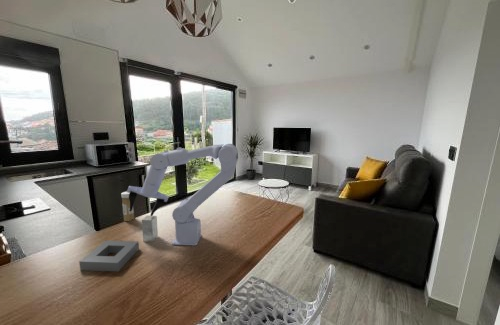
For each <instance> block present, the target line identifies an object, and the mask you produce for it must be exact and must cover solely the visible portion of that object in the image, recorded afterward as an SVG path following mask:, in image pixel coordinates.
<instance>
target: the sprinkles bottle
mask: <svg viewBox="0 0 500 325" xmlns="http://www.w3.org/2000/svg"><path fill="white" fill-rule="evenodd" d="M129 194H130V193H128V192H127V191H123V192H121V193H120V195H121V200H122V205H121V206H122V214H123V221H124V222H131V221H133V220H134V219H135V211H134V207H133V208H132V211H129V210H130V200H129ZM132 219H133V220H132Z"/></svg>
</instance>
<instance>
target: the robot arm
mask: <svg viewBox="0 0 500 325" xmlns="http://www.w3.org/2000/svg"><path fill="white" fill-rule="evenodd" d="M206 157H211V158H213V159H215V160H217V159H218V160H219V162H220V163H219V164H220V171H219V172H218V173H217V174H216V175H214V176H213V177H212V178H211V179H210V180H208V181H207V182H206V183H205V184H204V185H203V186H201V187H200V188H199V189H198V190H197V191H196V192H195V193H194V194H193V195H191V196H190V197H188V198H185V199H183V200H181V201H180V203H179V205H177V207H176V208H174V209H173V211H172V213H171V214H172V215H171V216H172V218H173V220H174V222H175V225H174V226H175V239H173V241H172V243H171V244H172V245H173V246H174V245H175V246H197V245H198V243H199V241H200V240H201V237H202V226H201V225H202V222H201V219H200V218H196V217H195V215H194V212H195V211H197V209H198V207H199V206H201V205H202V204H204V202H205V201H207V200H208V199H209V198H210V197H211V196H213V194H215V193H216V192H217V191H218V190H220V188H222V187H223V186H224V185H226V183H227V182H228V181H229V182H230V180H231V179H232V178H233V177H234V175H235V172H236V168H237V162H238V160H239V152H238V148H237V147H236V145H234V144H232V143H227V144H212V145H209V146H204V147H199V148H195V149H191V150H188V149H186V148H184V147H183V148H182V147H181V146H180V147H176V149H173V150H167V149H166V150H164V151H161V152H158V153H155V154H154V155H152V156H151V158H150V161H149V163H150V166H149V169H148V172H147V174H146V177H145V180H144V182H143V184H142V187H141V186H140V187H139V186H133V185H129V186H128V188H127V190H126V192H128V193H130V194H129V200H130V210H129V211H132V208H133V209H134V205H135V201H136V198H137V195H139V196H143V197H145V198H150V199H156V201H155V203H154V206H153V208H152V210H151V212H150V215H149V216H154V214H155V213H156V211H157V210H158V209H159V208H160V207H162V206H163V205H164V202H165V203H167V202H168V199H169V195H167V194H164V193H162V192H160V191H159V190H160V188H161V185H162V183H163V180H164V178H165V175H166V172H167V170H168V167H175V166H180V165H186V164H188V163H189V161H190V160H194V159H199V158H200V159H201V158H206Z"/></svg>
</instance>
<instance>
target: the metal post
mask: <svg viewBox="0 0 500 325" xmlns="http://www.w3.org/2000/svg"><path fill="white" fill-rule="evenodd" d="M141 227H142V228H141V229H142V232H141V233H142V242H144V243H145V242H150V243H153V242H155V240H157V238H158V237H159V233H158V231H159V230H158V216H157V215H153V216H150V215H145V217H143V218H142V219H141Z"/></svg>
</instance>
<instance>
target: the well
mask: <svg viewBox="0 0 500 325" xmlns="http://www.w3.org/2000/svg"><path fill="white" fill-rule="evenodd" d="M139 243H140V242H139V241H135V240H133V241H132V240H131V241H130V240H129V241H128V240H107V239H106V240H104V241H103V242H102V243H100V244H99V245H98V246H97V247H95V249H93V250H92V251H90V252H89V253H88V254H86V255H85V256H84V257H83V258H82V259H80V260H79V262H78V263H79V269H80V270H79V271H95V272H96V271H97V272H98V271H99V272H120V271H121V269H122V268H123V267H124V266H125V265H126V264H127V263H128V262H129V261H130V260H131V258H132V257H133V256H134V255H135V254H136V253H137V251H139V250H140V248H139V245H140V244H139ZM109 254H115V255H114V256H113V255H112V256H111V255H109ZM108 255H109V256H108Z"/></svg>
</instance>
